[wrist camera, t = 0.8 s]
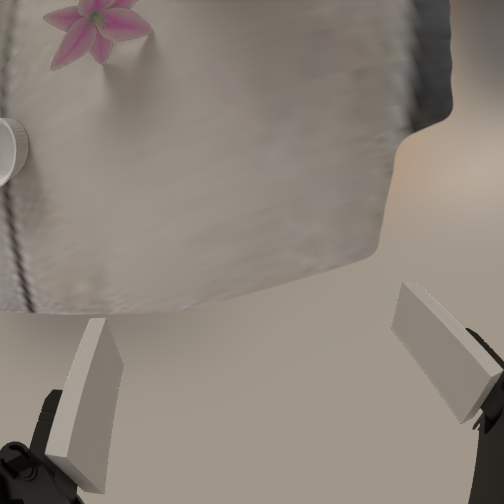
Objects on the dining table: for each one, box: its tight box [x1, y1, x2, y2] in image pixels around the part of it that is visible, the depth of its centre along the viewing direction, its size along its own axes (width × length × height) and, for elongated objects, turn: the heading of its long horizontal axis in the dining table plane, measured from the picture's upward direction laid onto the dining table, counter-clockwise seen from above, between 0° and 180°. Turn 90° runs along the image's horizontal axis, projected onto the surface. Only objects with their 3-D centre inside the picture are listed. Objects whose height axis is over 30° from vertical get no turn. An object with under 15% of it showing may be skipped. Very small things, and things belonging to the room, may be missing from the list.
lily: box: [43, 0, 153, 71], centre depth 23 cm, size 12×12×10 cm
